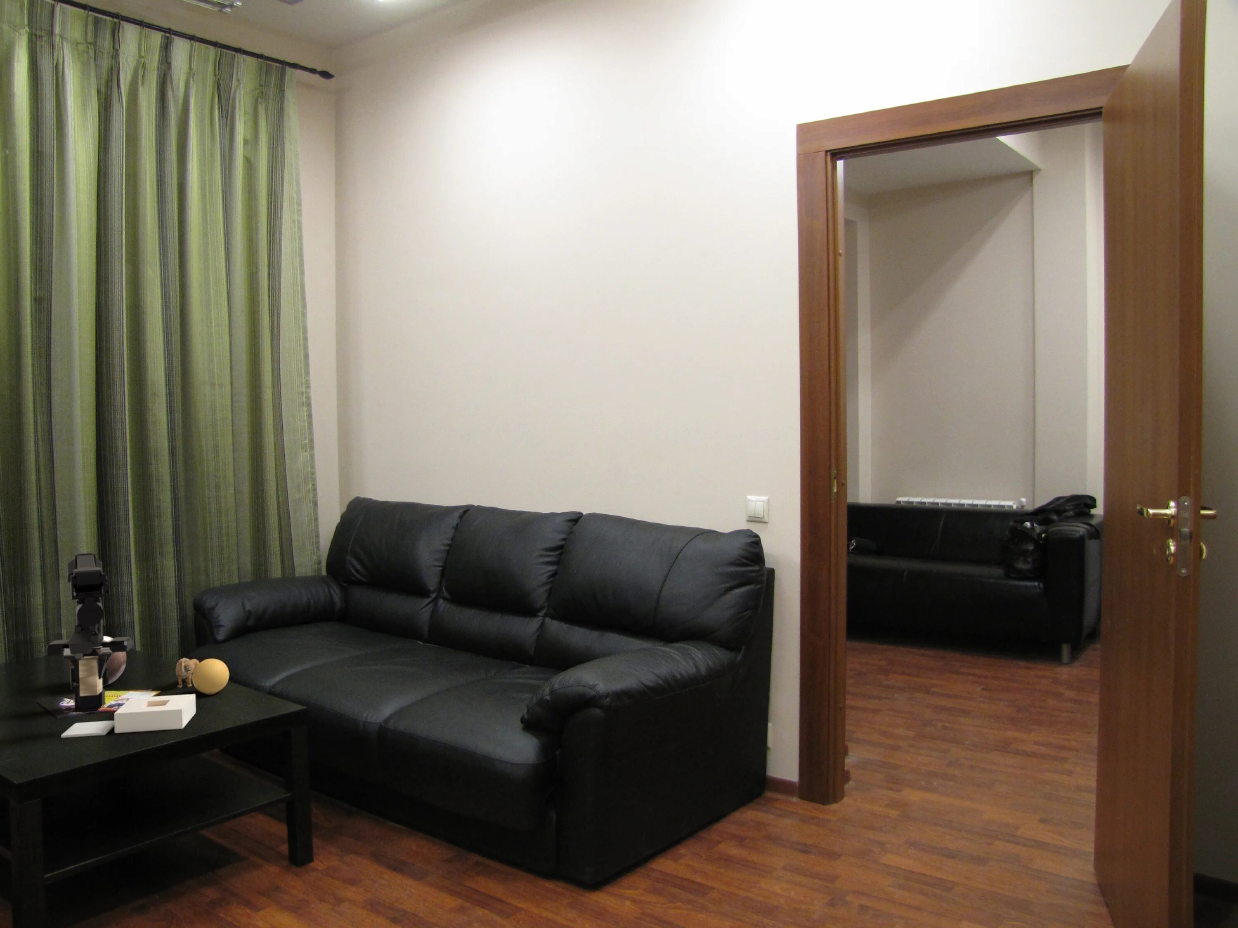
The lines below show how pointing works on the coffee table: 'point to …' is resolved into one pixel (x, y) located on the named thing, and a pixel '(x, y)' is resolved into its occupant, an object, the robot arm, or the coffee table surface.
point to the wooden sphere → (112, 663)
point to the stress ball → (210, 676)
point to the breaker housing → (155, 713)
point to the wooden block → (89, 676)
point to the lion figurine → (185, 670)
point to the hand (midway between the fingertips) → (90, 679)
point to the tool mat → (89, 729)
